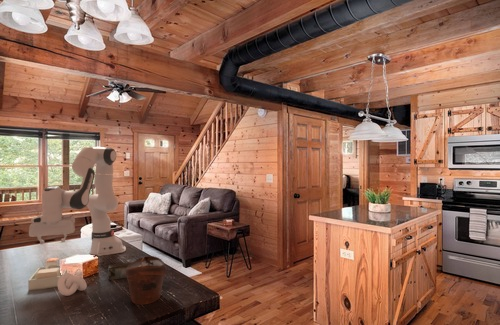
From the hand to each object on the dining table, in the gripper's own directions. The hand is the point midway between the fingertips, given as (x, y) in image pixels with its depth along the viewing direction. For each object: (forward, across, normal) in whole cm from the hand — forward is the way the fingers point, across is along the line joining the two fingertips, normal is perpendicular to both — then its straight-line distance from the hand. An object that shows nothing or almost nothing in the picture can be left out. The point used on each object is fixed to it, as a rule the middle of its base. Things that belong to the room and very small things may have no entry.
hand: (52, 243), depth 156 cm
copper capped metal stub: (+18, 0, 0) cm, 18 cm away
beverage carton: (+20, -36, +9) cm, 42 cm away
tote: (+19, 0, +4) cm, 19 cm away
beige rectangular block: (+18, 0, +9) cm, 20 cm away
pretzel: (+19, -12, +22) cm, 31 cm away
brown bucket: (+19, -44, +40) cm, 63 cm away
